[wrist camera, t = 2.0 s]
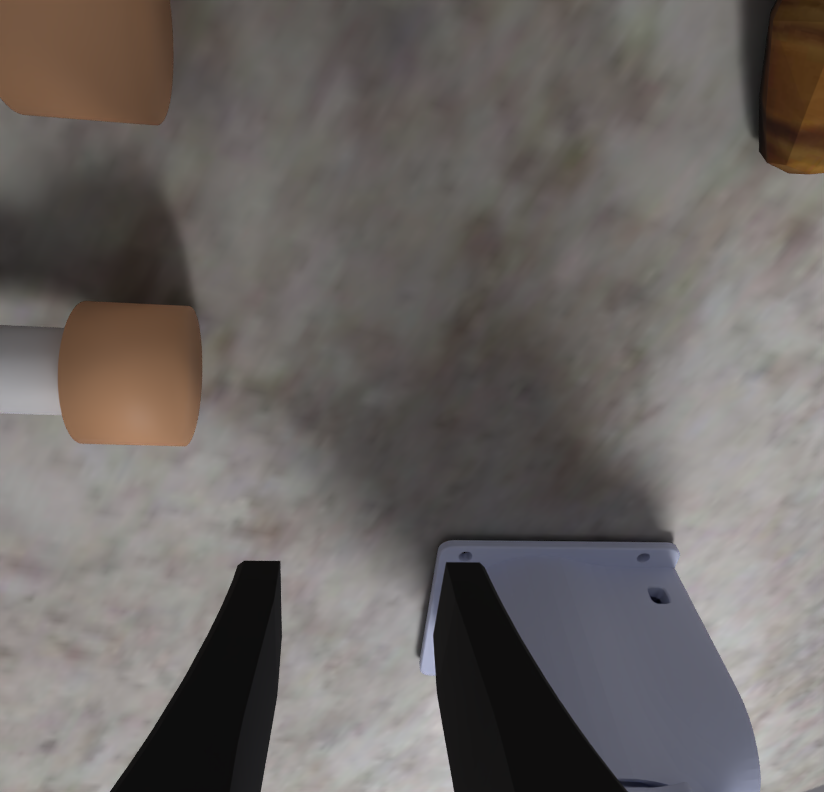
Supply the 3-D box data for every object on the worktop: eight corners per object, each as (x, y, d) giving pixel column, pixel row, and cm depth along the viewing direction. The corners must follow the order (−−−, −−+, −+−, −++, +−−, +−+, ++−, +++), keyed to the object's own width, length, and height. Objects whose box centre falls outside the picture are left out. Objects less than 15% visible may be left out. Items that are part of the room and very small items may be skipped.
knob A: (195, 282, 18) (164, 351, 15) (206, 395, 20) (180, 475, 17) (-139, 264, 17) (-244, 334, 14) (-93, 384, 19) (-176, 468, 16)
